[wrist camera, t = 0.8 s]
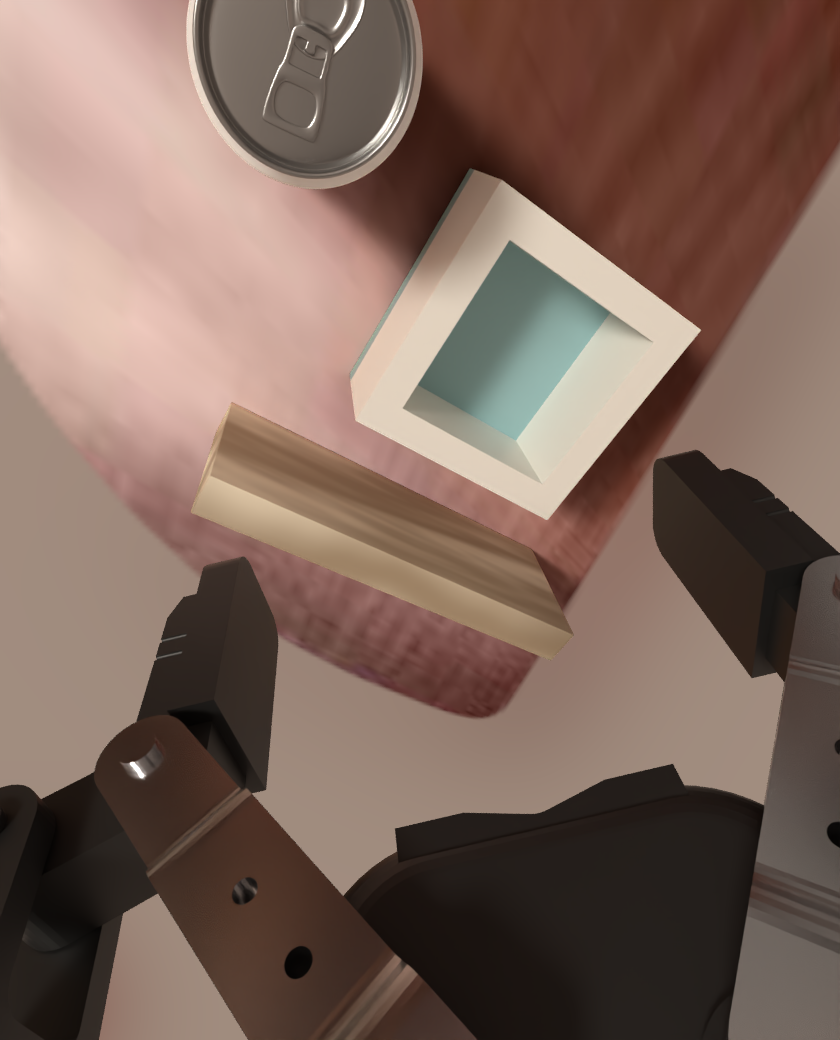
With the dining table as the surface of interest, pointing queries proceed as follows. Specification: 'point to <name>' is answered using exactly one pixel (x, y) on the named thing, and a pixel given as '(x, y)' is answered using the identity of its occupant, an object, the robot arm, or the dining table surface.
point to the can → (307, 82)
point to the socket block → (513, 349)
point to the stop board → (375, 532)
